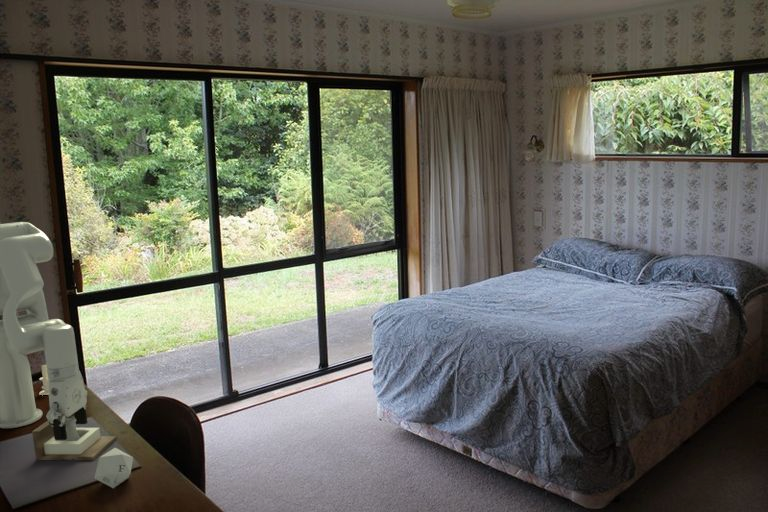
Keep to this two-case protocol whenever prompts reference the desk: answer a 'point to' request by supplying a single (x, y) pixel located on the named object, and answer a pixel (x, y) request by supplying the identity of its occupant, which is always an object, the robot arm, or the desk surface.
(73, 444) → the socket block
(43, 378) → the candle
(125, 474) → the die
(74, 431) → the rook chess piece
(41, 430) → the wooden bookend
